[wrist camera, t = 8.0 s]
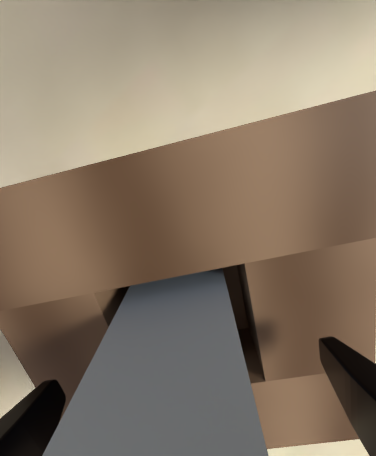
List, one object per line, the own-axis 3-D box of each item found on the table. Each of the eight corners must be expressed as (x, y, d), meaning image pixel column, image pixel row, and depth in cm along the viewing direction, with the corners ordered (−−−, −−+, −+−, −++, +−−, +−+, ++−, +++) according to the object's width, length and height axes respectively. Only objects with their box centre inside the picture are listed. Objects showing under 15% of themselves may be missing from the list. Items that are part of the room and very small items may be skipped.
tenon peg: (218, 251, 11) (318, 659, 2) (232, 318, 12) (335, 760, 3) (139, 267, 11) (-65, 662, 2) (160, 330, 12) (76, 750, 4)
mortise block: (306, 117, 10) (380, 89, 6) (323, 359, 14) (373, 437, 10) (20, 190, 11) (-73, 206, 7) (112, 389, 15) (84, 468, 11)
